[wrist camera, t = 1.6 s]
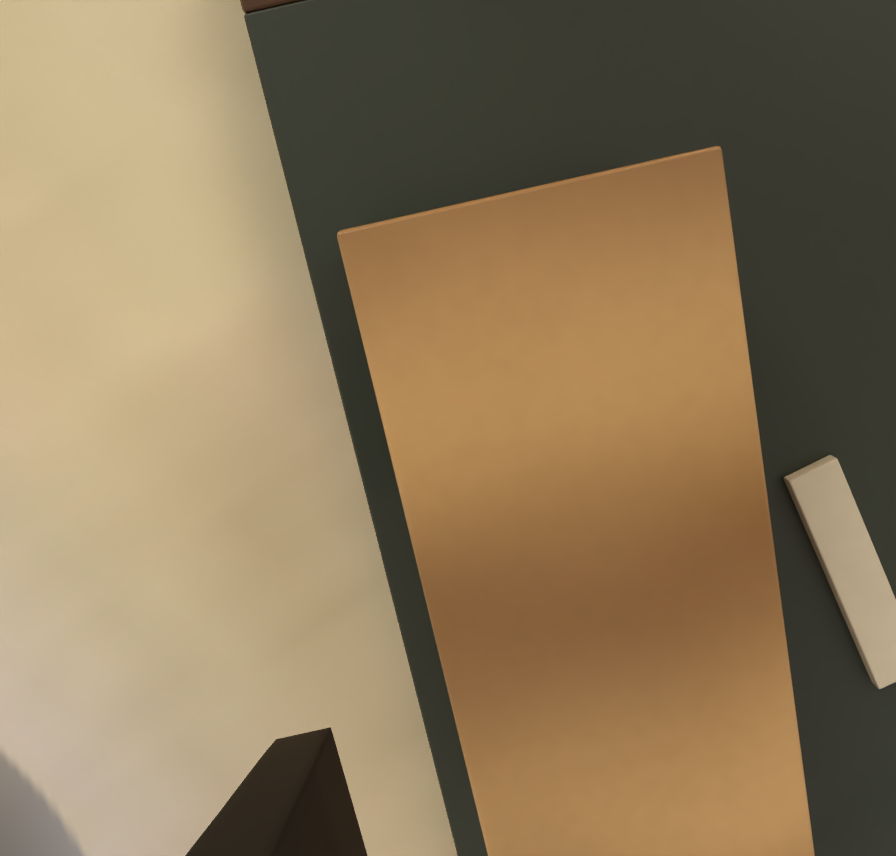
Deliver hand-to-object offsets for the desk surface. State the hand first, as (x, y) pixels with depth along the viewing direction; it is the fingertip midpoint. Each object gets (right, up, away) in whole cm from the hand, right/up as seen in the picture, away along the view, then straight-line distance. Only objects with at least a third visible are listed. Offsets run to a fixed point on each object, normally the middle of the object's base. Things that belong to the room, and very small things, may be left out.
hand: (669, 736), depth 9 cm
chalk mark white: (+6, 0, +8) cm, 9 cm away
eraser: (0, +2, +7) cm, 7 cm away
